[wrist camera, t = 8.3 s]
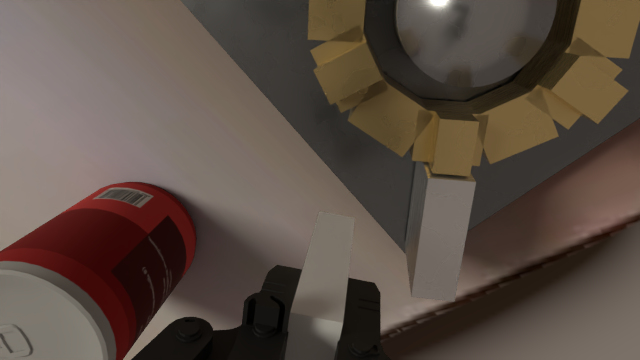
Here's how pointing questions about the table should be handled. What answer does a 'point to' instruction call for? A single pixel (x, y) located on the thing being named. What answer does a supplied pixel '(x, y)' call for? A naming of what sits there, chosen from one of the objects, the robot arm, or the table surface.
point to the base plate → (412, 88)
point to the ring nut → (469, 115)
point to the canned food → (93, 275)
